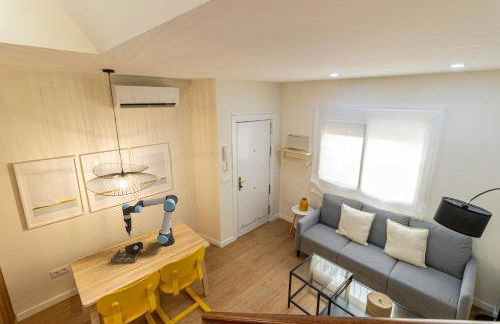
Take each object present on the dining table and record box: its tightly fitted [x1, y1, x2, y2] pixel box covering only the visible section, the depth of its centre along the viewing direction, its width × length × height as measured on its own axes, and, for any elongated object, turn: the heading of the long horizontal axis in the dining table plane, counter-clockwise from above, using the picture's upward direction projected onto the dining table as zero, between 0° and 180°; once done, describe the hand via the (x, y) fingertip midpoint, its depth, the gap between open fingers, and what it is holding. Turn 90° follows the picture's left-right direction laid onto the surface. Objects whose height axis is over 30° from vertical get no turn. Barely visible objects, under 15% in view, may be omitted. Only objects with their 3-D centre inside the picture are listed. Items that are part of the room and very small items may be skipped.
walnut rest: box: [110, 249, 142, 265], centre depth 262 cm, size 24×18×5 cm
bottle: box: [124, 241, 144, 253], centre depth 266 cm, size 8×16×25 cm
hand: (130, 236), depth 272 cm, fingers closed
